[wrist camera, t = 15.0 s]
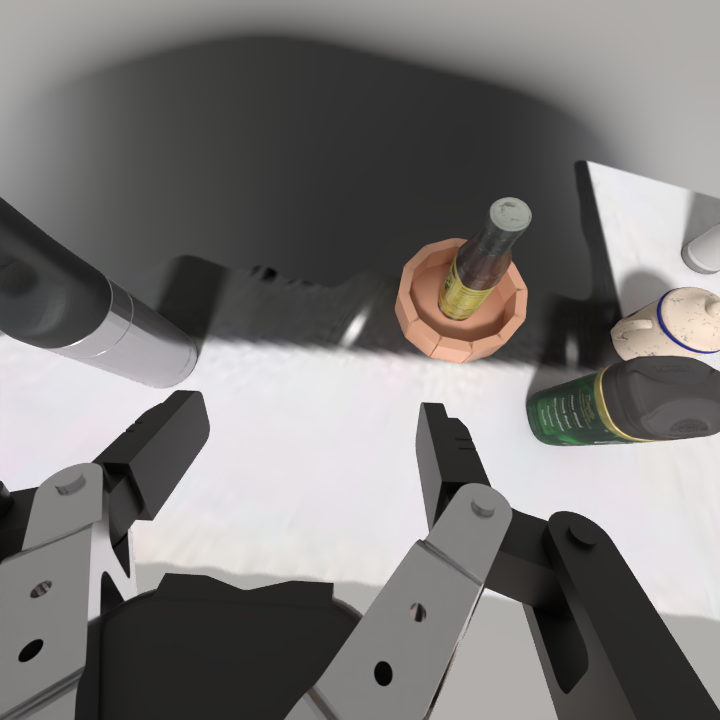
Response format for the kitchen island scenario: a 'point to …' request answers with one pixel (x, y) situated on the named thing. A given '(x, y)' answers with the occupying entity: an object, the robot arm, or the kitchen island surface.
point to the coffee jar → (630, 404)
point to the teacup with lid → (671, 326)
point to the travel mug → (704, 252)
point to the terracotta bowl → (450, 336)
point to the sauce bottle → (483, 259)
